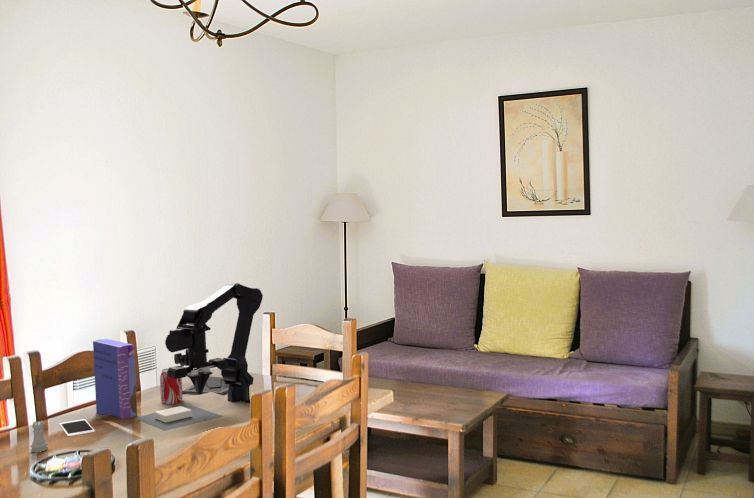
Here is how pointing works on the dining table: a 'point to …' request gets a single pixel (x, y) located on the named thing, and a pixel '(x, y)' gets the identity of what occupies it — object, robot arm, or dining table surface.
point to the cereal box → (115, 378)
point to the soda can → (170, 389)
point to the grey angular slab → (210, 387)
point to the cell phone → (76, 427)
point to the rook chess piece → (38, 438)
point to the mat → (196, 417)
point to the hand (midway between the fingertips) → (199, 394)
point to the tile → (173, 414)
